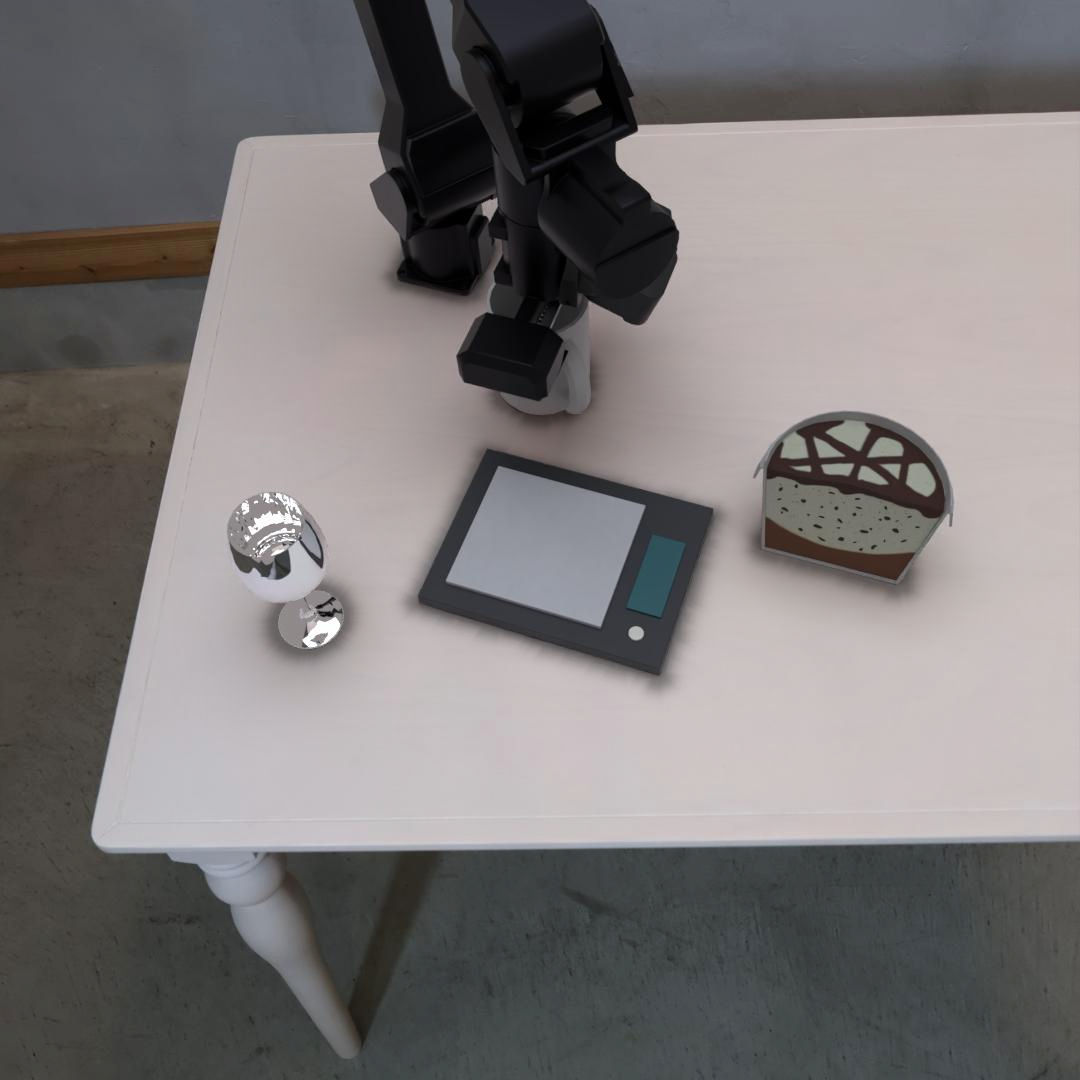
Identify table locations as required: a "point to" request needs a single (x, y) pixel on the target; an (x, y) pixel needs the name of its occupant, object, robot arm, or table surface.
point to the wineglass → (285, 565)
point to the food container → (853, 494)
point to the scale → (569, 559)
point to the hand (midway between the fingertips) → (552, 359)
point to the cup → (574, 330)
